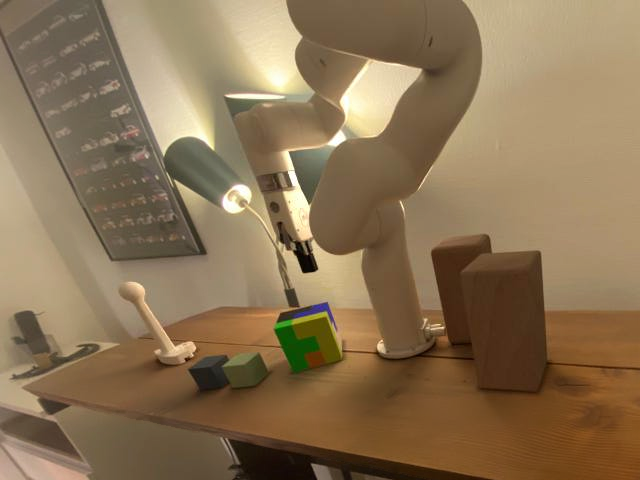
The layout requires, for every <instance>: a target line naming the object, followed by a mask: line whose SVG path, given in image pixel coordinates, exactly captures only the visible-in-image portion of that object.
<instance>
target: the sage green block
mask: <svg viewBox="0 0 640 480" xmlns="http://www.w3.org/2000/svg"><path fill="white" fill-rule="evenodd" d="M222 369H223V371H224V373H225V374H226V376H227V378H228V380H229V383H230V385H231V387H232V388H233V389H237V388H247V387H256V386H257V385H258V384H259V383H260V382H261V381H262V380H263V379H264V378H266V377H267V376H268V375H269V374H270V371H269V369H268V367H267V365H266V363H265V361H264V359H263V357H262V355H261V353H260V352H259V351H258V352H248V353H247V352H246V353H239V354H236V355H234V356H233V357H232V358H231V359H229V361H228V362H227V363H226V364H224V365H223V366H222Z"/></svg>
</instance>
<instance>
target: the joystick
mask: <svg viewBox="0 0 640 480" xmlns="http://www.w3.org/2000/svg"><path fill="white" fill-rule="evenodd" d="M118 294H119V296H120V297H121V298H122V299H123V300H125V301H128V302H130V303H132V304H133V306H134V307H135V309H136V311H137V312H138V314H139V316H140V317H141V320H142V321H143V322H144V324H145V326H146V327H147V329H148V331H149V333H150V335H151V336H152V338H153V339H154V341H155V342H156V345H157V347H158V349H155V350H154V351H153V353H154V354H155V356H156V357H157V359H158V361H159V362H160V363H162V364H165V365H172V366H173V365H182V364H184V363H186V360H185V359H188V358H193V357H194V356H195V355H194V354H193V353H195V352H196V350H197V347H196V345H195V343H194V342H193V341H190V340H189V341H186V342H185V341H184V342H182V343H180V344H178V345H174V344H173V341H172V340H171V339H170V338H169V335H168V334H167V333H166V332H165V330H164V328H163V327H162V325H161V324H160V323H159V321H158V319H157V318H156V317H155V315H154V313H153V312H152V310H151V309H150V307H149V306H148V304H147V303H146V301H145V297H146V289H145V287H144V286H143V285H142V284H140V283H138V282H135V281H126V282H123V283H121V284H120V285H119V287H118Z"/></svg>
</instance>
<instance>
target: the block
mask: <svg viewBox="0 0 640 480" xmlns="http://www.w3.org/2000/svg"><path fill="white" fill-rule="evenodd" d="M485 253H493V249H492V241H491V237H490V235H489V234H487V233H479V234H469V235H461V236H451V237H446V238H443V239H442V240H441V241H440V242H438V244H436V245H435V246H434V247H433V248H432V249H431V250H430V258H431V262H432V266H433V272H434V275H435V276H434V277H435V280H436V281H435V283H436V286H437V292H438V295H439V300H440V301H439V302H440V306H441V311H442V316H443V320H444V325H445V326H444V327H445V328H446V336H447V340H448V342H449V343H450V344H451V345H453V344H454V345H455V344H472V343H471V337H470V331H469V325H468V320H467V314H466V308H465V302H464V296H463V290H462V284H461V279H460V272H461V271H462V270H464V269H465V268H466V267H467V266H468V265H469V264H470V263H472V262H473V261H474V260H475V259H476V258H477V257H478V256H479V255H481V254H485Z"/></svg>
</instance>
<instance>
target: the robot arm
mask: <svg viewBox="0 0 640 480" xmlns="http://www.w3.org/2000/svg"><path fill="white" fill-rule="evenodd" d="M285 3H286V7H287V12H288V15H289V18H290V20H291V23H292V24H293V26H294V28H295V30H296V31H297V32H298V33H299V35H300V36H301V38H300V40H299V42H298V43H297V46H296V47H295V49H294V62H295V66H296V68H297V70H298V72H299V74H300V76H301V78H302V79H303V80H304V82H305V83H306V85H308V87H309V88H310V89H311V90H312V91H313V92H314V93H313V95H312V96H311V97H310V98H309V99H308V100H307V101H306V102H300V101H299V102H298V101H297V102H296V101H295V102H294V101H279V102H278V101H265V102H259V103H256V104H255V105H253V106H252V107H251V108H250V109H249V110H245V111H241V112H238V113H236V114H235V115H234V118H233V123H234V127H235V130H236V132H237V134H238V137H239V139H240V142H241V145H242V147H243V149H244V153H245V155H246V158H247V160H248V162H249V165H250V167H251V170H252V173H253V176H254V178H255V181H256V183H257V185H258V188H259V191H260V194H261V195H262V196H263V200H264V204H265V208H266V211H267V215H268V217H269V220H270V223H271V227H272V229H273V231H274V234H275V236H276V238H277V240H278V243H280V244H282V245H284V247H285V250H286V252H287V251H288V252H292V253H293V255H294V257H296V259H297V262H298V265H299V267H300V270H301V272H302V274H310V273H316V272H317V271H319V266H318V263H317V260H316V257H315V254H314V248H313V245H312V242H315V243H316V245H317V246H318V247H320V249H321V250H322V251H324V252H326V253H328V254H330V255H334V256H346V255H347V256H348V255H351V254H354V253H355V252H356V253H357V252H358V251H361V253H360V269H361V273H362V277H363V280H364V284H365V287H366V291H367V294H368V297H369V300H370V301H369V302H370V304H371V308H372V311H373V314H374V317H375V321H376V324H377V328H378V330H379V334H380V337H381V340H379V342H378V343H377V345H376V349H377V352H378V355H380V356H381V357H383V358H385V359H391V360H397V359H398V360H399V359H406V358H410V357H413V356H417V355H419V354H422V353H424V352H425V351H427V350H429V349H430V348H431V347H432V346H433V345H434V344H435V342H436V337H439V338H440V337H446V336H447V331H446V326H443V324H442V323H435V324H431V323H429V319H428V318H424V314H423V311H422V306H421V302H420V297H419V293H418V289H417V285H416V281H415V277H414V272H413V267H412V262H411V257H410V254H409V253H410V252H409V248H408V247H409V246H408V240H407V222H406V221H407V220H406V214H405V213H406V212H405V208H404V206H403V203H402V201H406V200H407V199H410V198H411V197H413V196H414V195H415V194H416V193H417V192H418V191H419V190H420V188H421V187H422V185H423V184H424V182H425V180H426V178H427V177H428V175H429V174H430V171H431V170H432V168H433V167H434V165H435V163H436V162H437V161H438V159H439V157H440V155H441V154H442V152H443V150H444V148H445V146H446V145H447V143H448V142H449V140H450V139H451V137H452V135H453V133H454V132H455V131H456V129H457V127H458V126H459V125H460V123H461V122H462V120H463V118H464V117H465V115H466V114H467V112H468V110H469V108H470V107H471V105H472V103H473V100H474V98H475V96H476V94H477V91H478V88H479V85H480V80H481V76H482V70H483V69H482V68H483V45H482V38H481V33H480V29H479V26H478V23H477V20H476V18H475V16H474V15H473V12H472V11H471V9H470V7H469V6H468V5H467V3H466V2H465V1H463V0H286V1H285ZM373 62H377V63H380V64H385V65H390V66H395V67H396V66H397V67H406V68H414V69H421V71H420V73H419V74H418V76H417V77H416V79H415V80H414V81H413V82H412V83H411V84H410V85H409V86H408V87H407V89H406V90H404V92H403V93H402V95H400V97H399V99H398V101H397V102H396V104H395V106H394V109H393V111H392V114H391V116H390V118H389V119H388V121H387V123H386V125H385V126H384V128H383V129H382V131H380V132H379V133H377V134H374V135H368V136H365V135H364V136H356V137H352V138H349V139H345V140H343V141H342V142H340V143H339V144H338V145H336V146H335V148H333V150H332V151H331V153H330V154H329V156H328V157H327V160H326V163H325V165H324V168H323V170H322V173H321V176H320V179H319V181H318V184H317V186H316V189H315V192H314V195H313V197H312V200H311V203H310V205H309V203H308V200H307V198H306V196H305V195H304V192H303V191H302V189H301V185H300V182H299V179H298V176H297V174H296V171H295V167H294V165H293V164H294V163H293V161H292V158H291V156H290V153H289V152H295V151H301V150H302V151H303V150H311V149H320V148H322V147H325V146H326V145H328V144H329V143H330V142H331V141H332V140H334V138H335V137H336V136H337V134H338V133H339V132H340V131H341V130H342V129H343V127H344V126H345V124H346V123H347V119H348V111H349V98H348V94H349V93H350V92H351V90H352V89H353V87H354V86H355V85H356V83H357V82H358V81H359V80H360V78H361V77H362V76H363V75H364V74H365V72H366V71H367V70H368V68H370V66H371V64H373ZM313 240H314V241H313Z"/></svg>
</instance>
